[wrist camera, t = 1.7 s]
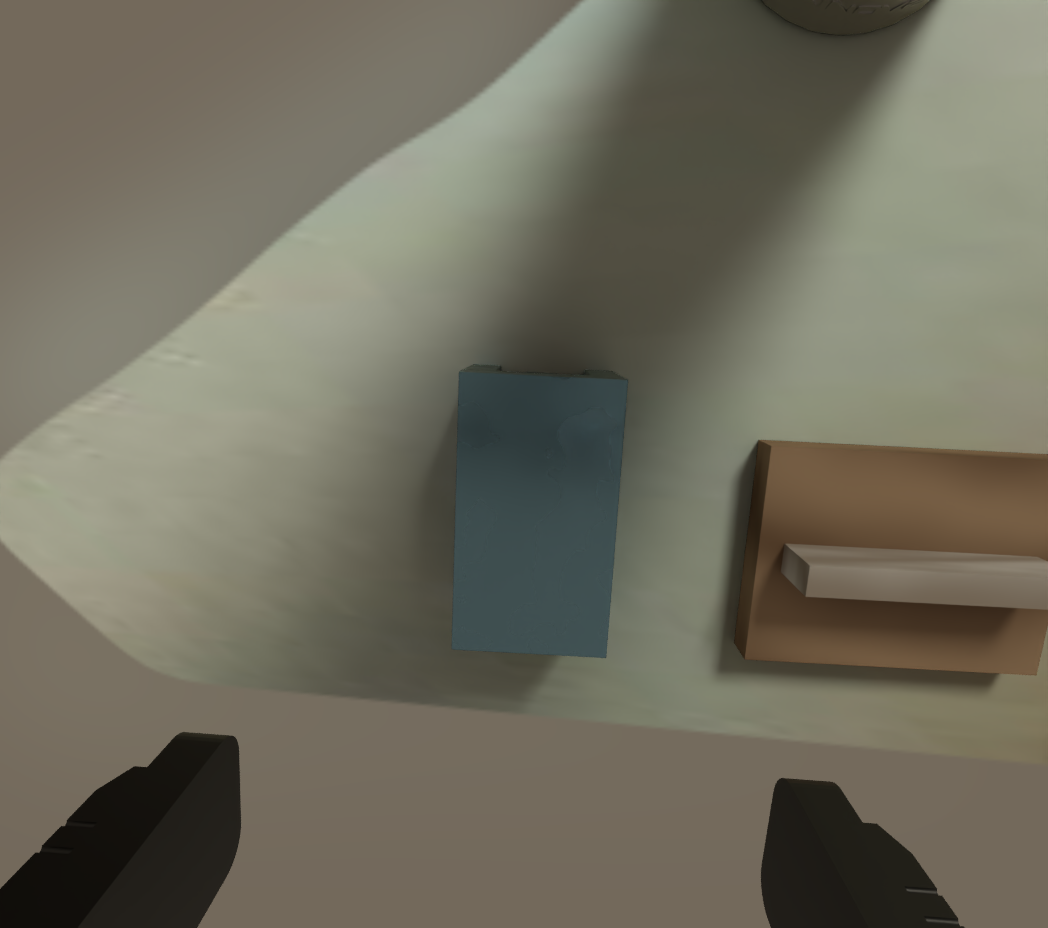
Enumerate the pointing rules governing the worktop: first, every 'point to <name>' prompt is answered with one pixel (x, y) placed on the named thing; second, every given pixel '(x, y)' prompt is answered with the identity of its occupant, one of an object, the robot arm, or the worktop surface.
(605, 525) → the block
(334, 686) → the worktop surface
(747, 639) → the rail stand
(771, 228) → the worktop surface
